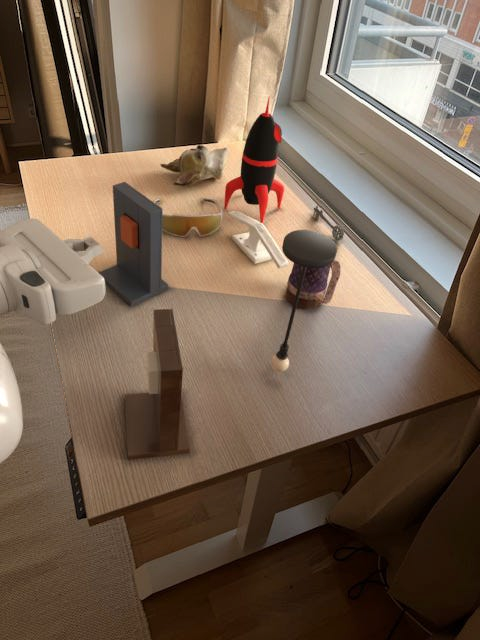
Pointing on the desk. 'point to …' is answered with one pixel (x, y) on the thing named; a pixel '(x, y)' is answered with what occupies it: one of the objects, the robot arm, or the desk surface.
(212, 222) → the sunglasses
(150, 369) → the switch near
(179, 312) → the desk surface
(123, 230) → the switch far
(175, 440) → the panel near
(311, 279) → the mug
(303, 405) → the desk surface
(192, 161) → the ceramic sculpture
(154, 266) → the panel far
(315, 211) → the key
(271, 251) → the t-shaped cleat
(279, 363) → the light fixture
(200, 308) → the desk surface
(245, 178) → the toy rocket
